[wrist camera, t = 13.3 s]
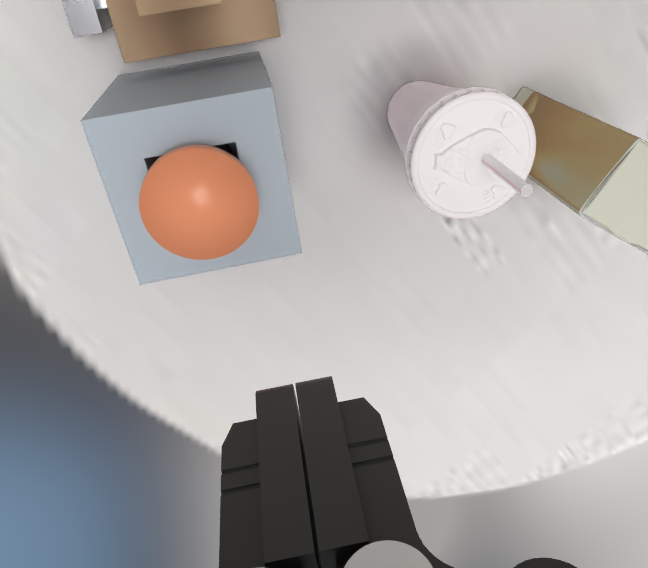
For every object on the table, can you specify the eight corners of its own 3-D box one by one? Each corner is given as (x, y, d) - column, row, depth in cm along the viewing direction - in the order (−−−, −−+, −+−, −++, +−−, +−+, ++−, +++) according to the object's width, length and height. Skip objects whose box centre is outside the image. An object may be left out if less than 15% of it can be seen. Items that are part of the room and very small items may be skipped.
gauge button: (241, 102, 29) (245, 140, 23) (259, 193, 31) (268, 247, 26) (142, 119, 28) (122, 162, 23) (170, 210, 31) (158, 269, 25)
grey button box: (258, 51, 32) (272, 86, 24) (282, 182, 36) (301, 253, 28) (118, 75, 32) (80, 120, 23) (159, 205, 36) (139, 284, 27)
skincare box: (589, 128, 38) (729, 194, 27) (548, 183, 40) (665, 266, 29) (518, 81, 36) (642, 134, 25) (478, 142, 37) (579, 216, 27)
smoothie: (459, 157, 38) (570, 253, 26) (364, 164, 37) (434, 266, 25) (470, 54, 34) (603, 108, 22) (366, 59, 33) (446, 118, 22)
